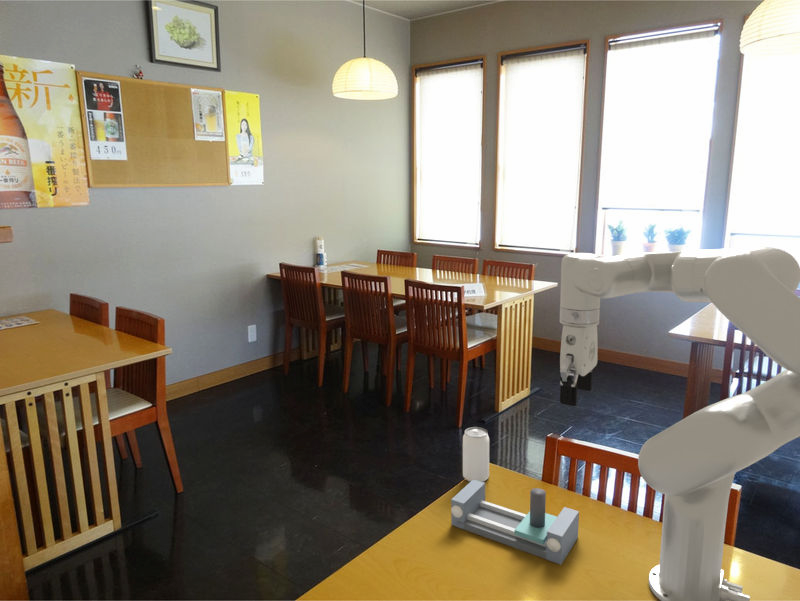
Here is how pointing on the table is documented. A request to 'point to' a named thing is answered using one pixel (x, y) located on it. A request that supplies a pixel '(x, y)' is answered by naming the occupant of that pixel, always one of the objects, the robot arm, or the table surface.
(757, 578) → the table surface
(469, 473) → the can
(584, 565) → the table surface
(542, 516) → the carriage
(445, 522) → the table surface
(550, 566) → the table surface
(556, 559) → the rail track
